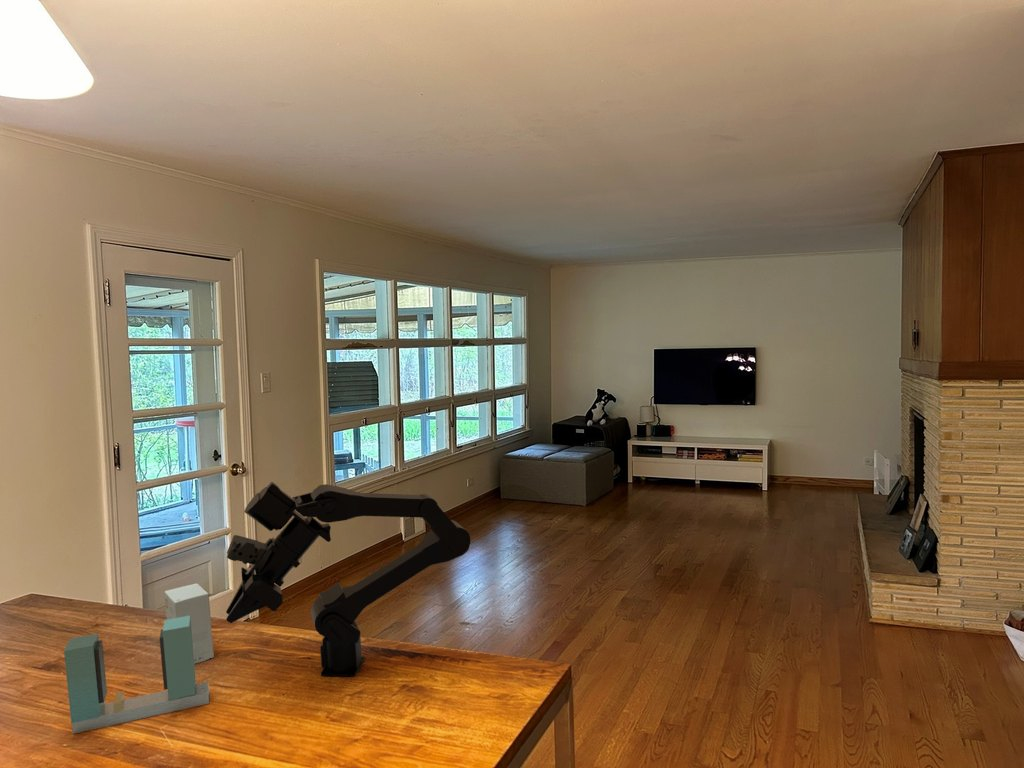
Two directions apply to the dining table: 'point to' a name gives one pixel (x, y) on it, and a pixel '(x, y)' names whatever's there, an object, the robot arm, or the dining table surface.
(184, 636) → the tall teal pillar
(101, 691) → the rail
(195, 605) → the small box
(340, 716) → the dining table surface
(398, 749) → the dining table surface
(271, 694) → the dining table surface
